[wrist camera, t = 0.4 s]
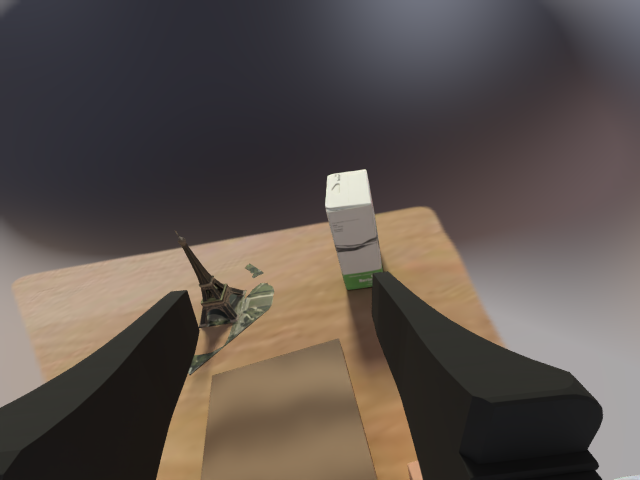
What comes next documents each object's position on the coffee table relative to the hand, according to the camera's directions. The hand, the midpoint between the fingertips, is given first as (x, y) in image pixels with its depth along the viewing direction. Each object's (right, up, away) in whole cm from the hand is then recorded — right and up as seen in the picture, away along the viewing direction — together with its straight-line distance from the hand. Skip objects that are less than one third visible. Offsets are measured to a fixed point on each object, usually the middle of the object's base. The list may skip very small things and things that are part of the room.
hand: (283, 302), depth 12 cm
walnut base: (-1, -14, +15) cm, 21 cm away
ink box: (+7, -1, +30) cm, 30 cm away
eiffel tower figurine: (-11, -7, +29) cm, 32 cm away
